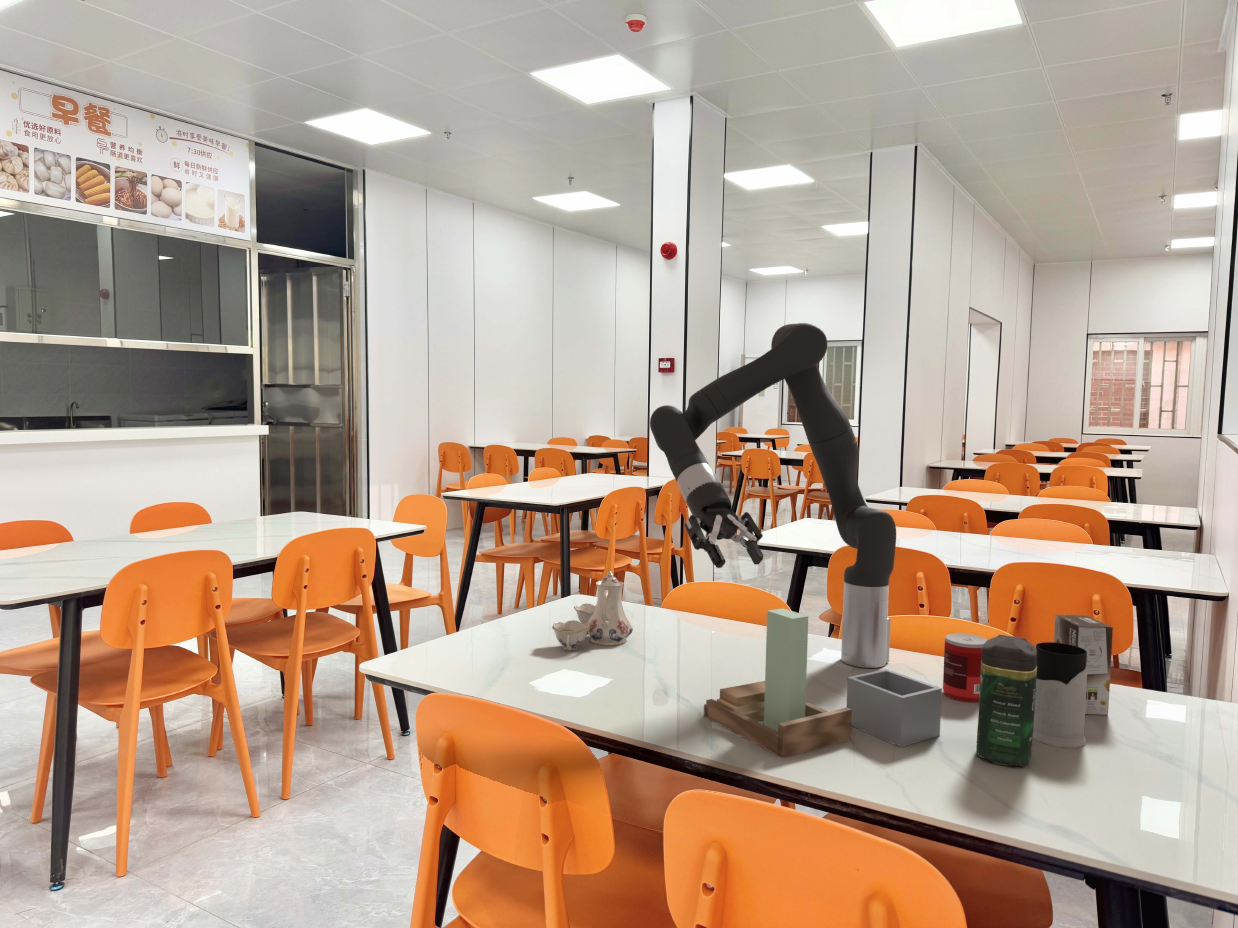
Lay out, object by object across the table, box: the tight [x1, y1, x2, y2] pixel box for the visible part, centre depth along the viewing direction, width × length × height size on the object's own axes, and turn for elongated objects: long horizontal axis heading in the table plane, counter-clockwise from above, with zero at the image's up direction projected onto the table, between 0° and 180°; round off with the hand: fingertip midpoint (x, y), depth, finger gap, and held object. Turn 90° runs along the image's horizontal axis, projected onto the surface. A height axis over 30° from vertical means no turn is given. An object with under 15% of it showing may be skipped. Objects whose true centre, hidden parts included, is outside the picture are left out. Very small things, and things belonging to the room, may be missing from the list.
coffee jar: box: [976, 634, 1037, 767], centre depth 128 cm, size 10×8×19 cm
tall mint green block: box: [763, 608, 809, 732], centre depth 136 cm, size 4×6×20 cm, turn 31°
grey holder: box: [846, 668, 943, 748], centre depth 139 cm, size 10×12×8 cm
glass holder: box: [1033, 641, 1087, 749], centre depth 138 cm, size 9×14×15 cm, turn 47°
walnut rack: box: [703, 698, 852, 759], centre depth 139 cm, size 15×20×5 cm
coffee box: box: [1053, 614, 1114, 716], centre depth 151 cm, size 9×6×16 cm
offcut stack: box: [716, 680, 765, 722], centre depth 144 cm, size 12×5×5 cm, turn 121°
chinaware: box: [551, 570, 634, 651], centre depth 190 cm, size 28×17×17 cm, turn 172°
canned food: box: [942, 633, 988, 703], centre depth 156 cm, size 8×8×11 cm
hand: (741, 563), depth 146 cm, fingers open, 8 cm apart
